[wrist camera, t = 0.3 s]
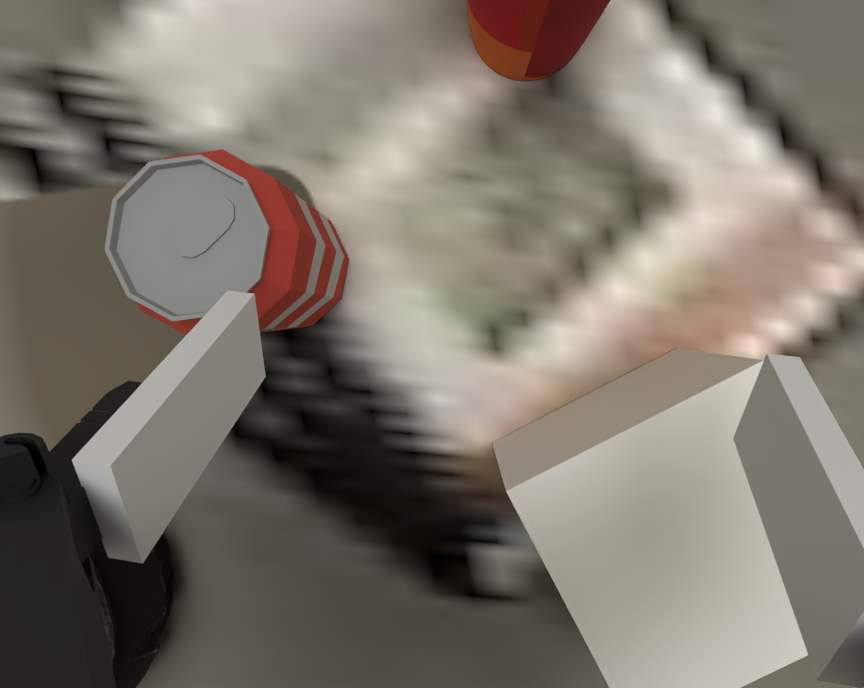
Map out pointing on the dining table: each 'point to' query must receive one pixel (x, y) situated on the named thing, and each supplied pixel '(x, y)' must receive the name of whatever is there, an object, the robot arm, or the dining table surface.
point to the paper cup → (531, 33)
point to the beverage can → (222, 243)
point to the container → (133, 608)
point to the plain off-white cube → (656, 525)
